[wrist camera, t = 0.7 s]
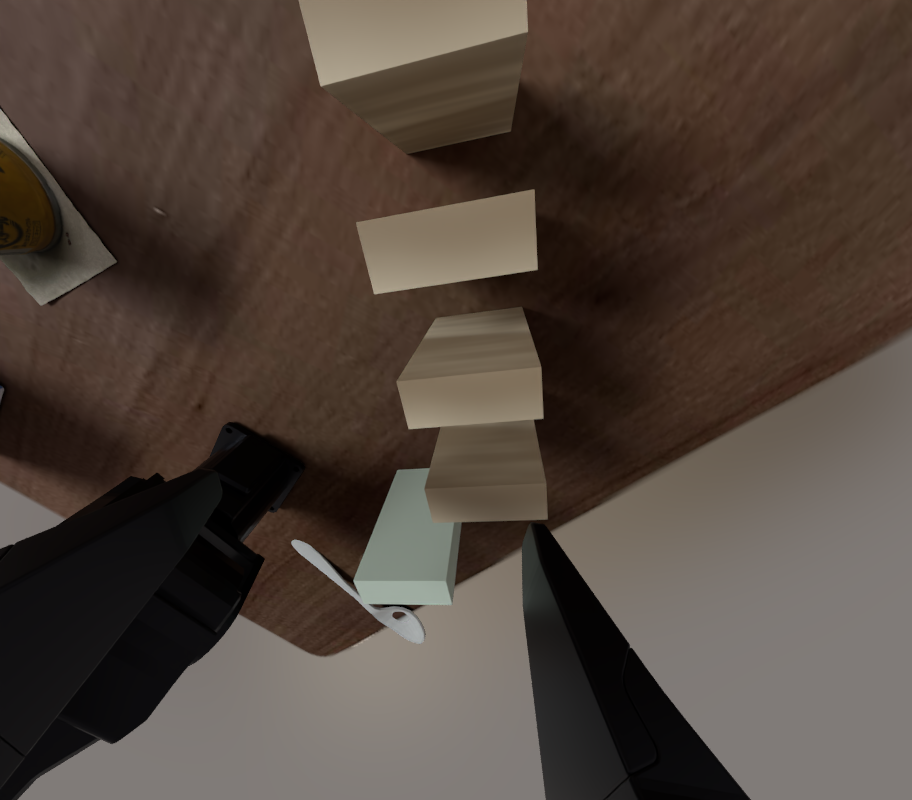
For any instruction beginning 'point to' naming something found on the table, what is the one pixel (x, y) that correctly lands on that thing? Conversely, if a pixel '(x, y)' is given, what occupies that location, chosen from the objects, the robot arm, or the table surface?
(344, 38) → the domino
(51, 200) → the condiment
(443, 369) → the domino
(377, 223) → the domino
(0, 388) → the ink cartridge box
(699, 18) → the table surface
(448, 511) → the domino
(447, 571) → the domino
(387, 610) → the spoon
